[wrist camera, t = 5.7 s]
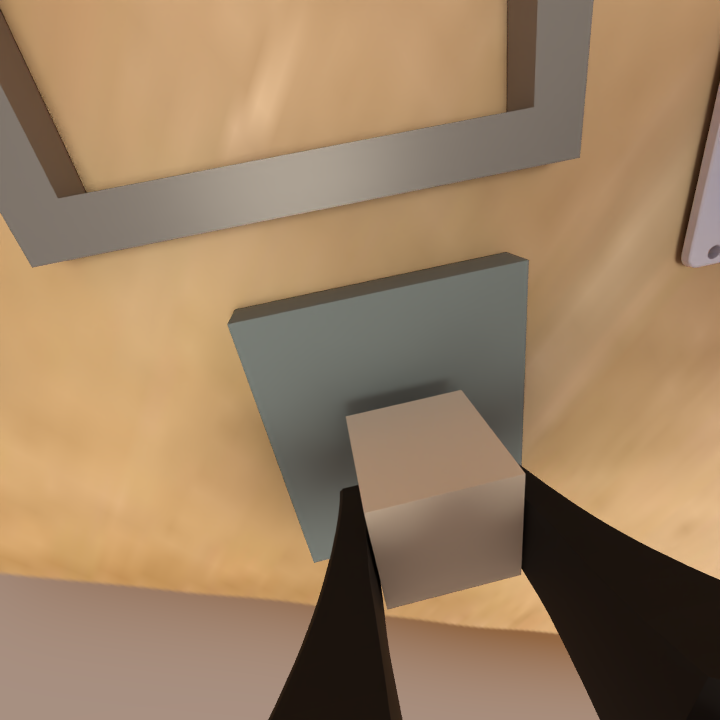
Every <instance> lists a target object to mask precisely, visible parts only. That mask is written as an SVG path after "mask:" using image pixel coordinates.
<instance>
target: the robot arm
mask: <svg viewBox="0 0 720 720" xmlns="http://www.w3.org/2000/svg"><path fill="white" fill-rule="evenodd" d="M709 250H710V251H709ZM708 252H709V253H708ZM681 261H682V263H683V264H684V265H685V266H689V267H702V266H707V265H711V264H716V263H720V83H719V88H718V92H717V97H716V101H715V106H714V110H713V115H712V119H711V124H710V128H709V133H708V137H707V142H706V146H705V151H704V156H703V160H702V165H701V169H700V174H699V178H698V183H697V187H696V192H695V196H694V201H693V205H692V210H691V214H690V219H689V223H688V228H687V232H686V237H685V241H684V246H683V250H682V255H681ZM518 465H519V466H520V467H521V469H522V470H523V471H524V472H525V496H524V519H523V542H522V565H521V568H522V570H523V572H524V573H525V575H526V576H527V578H528V580H529V581H530V583H531V585H532V586H533V588H534V589H535V591H536V593H537V594H538V596H539V598H540V599H541V601H542V603H543V605H544V606H545V608H546V610H547V612H548V614H549V615H550V617H551V619H552V621H553V623H554V625H555V627H556V629H557V631H558V633H559V635H560V637H561V639H562V641H563V643H564V645H565V647H566V649H567V651H568V653H569V655H570V658H571V660H572V662H573V664H574V666H575V668H576V670H577V672H578V674H579V676H580V678H581V680H582V682H583V684H584V686H585V689H586V690H587V693H588V695H589V697H590V699H591V701H592V703H593V706H594V708H595V710H596V712H597V714H598V716H599V719H600V720H720V580H719V579H717V578H714V577H712V576H710V575H707V574H705V573H703V572H700V571H698V570H696V569H694V568H692V567H689V566H687V565H685V564H683V563H681V562H679V561H677V560H675V559H673V558H671V557H668V556H666V555H664V554H662V553H660V552H658V551H656V550H654V549H652V548H650V547H648V546H646V545H644V544H642V543H640V542H638V541H636V540H635V539H633V538H631V537H629V536H627V535H626V534H624V533H622V532H620V531H618V530H617V529H615V528H613V527H611V526H609V525H608V524H606V523H604V522H603V521H601V520H599V519H598V518H596V517H595V516H593V515H591V514H590V513H588V512H587V511H585V510H583V509H582V508H580V507H579V506H577V505H576V504H574V503H573V502H571V501H570V500H568V499H567V498H565V497H564V496H562V495H561V494H559V493H558V492H557V491H555V490H554V489H552V488H551V487H549V486H548V485H547V484H545V483H544V482H542V481H541V480H540V479H538V478H537V477H536V476H534V475H533V474H532V473H530V472H529V471H527V470H526V469H525V468H523V467H522V466H521V465H520V464H518ZM268 720H402V715H401V710H400V705H399V700H398V695H397V690H396V684H395V679H394V674H393V669H392V664H391V659H390V653H389V646H388V639H387V632H386V624H385V614H384V606H383V597H382V589H381V581H380V577H379V573H378V569H377V565H376V560H375V556H374V552H373V548H372V544H371V540H370V536H369V532H368V528H367V524H366V519H365V515H364V511H363V505H362V500H361V495H360V490H359V485H356V486H351V487H347V488H343V489H342V490H341V491H340V503H339V513H338V520H337V526H336V532H335V537H334V542H333V547H332V551H331V556H330V560H329V563H328V567H327V571H326V575H325V579H324V582H323V586H322V589H321V592H320V595H319V599H318V602H317V605H316V608H315V611H314V614H313V616H312V619H311V623H310V625H309V628H308V630H307V633H306V635H305V638H304V641H303V644H302V646H301V649H300V651H299V653H298V656H297V658H296V660H295V663H294V665H293V667H292V670H291V672H290V674H289V677H288V678H287V681H286V683H285V685H284V688H283V690H282V692H281V694H280V696H279V698H278V701H277V703H276V705H275V707H274V709H273V711H272V713H271V715H270V717H269V719H268Z"/></svg>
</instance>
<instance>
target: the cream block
mask: <svg viewBox="0 0 720 720" xmlns="http://www.w3.org/2000/svg"><path fill="white" fill-rule="evenodd" d="M346 421H347V426H348V432H349V437H350V442H351V447H352V453H353V458H354V463H355V468H356V474H357V479H358V484H359V490H360V495H361V500H362V505H363V511H364V515H365V519H366V524H367V528H368V532H369V536H370V540H371V544H372V548H373V552H374V556H375V560H376V565H377V569H378V573H379V577H380V581H381V585H382V589H383V593H384V597H385V601H386V606H387V609H391V608H395V607H399V606H402V605H406V604H410V603H414V602H418V601H422V600H426V599H429V598H433V597H437V596H441V595H445V594H449V593H453V592H456V591H460V590H464V589H468V588H472V587H476V586H480V585H483V584H487V583H491V582H495V581H499V580H503V579H507V578H510V577H514V576H518V575H521V565H522V542H523V519H524V496H525V472H524V471H523V470H522V469H521V467H520V466H519V465H518V463H517V462H516V461H515V459H514V458H513V457H512V455H511V454H510V453H509V452H508V450H507V449H506V448H505V446H504V445H503V444H502V442H501V441H500V440H499V438H498V437H497V436H496V435H495V433H494V432H493V431H492V429H491V428H490V427H489V425H488V424H487V423H486V421H485V420H484V419H483V418H482V416H481V415H480V414H479V412H478V411H477V410H476V408H475V407H474V406H473V404H472V403H471V402H470V401H469V399H468V398H467V397H466V395H465V394H464V393H463V391H462V390H458V391H454V392H450V393H445V394H441V395H437V396H432V397H428V398H424V399H419V400H415V401H411V402H406V403H402V404H398V405H393V406H389V407H385V408H380V409H376V410H372V411H367V412H363V413H359V414H354V415H350V416H346Z"/></svg>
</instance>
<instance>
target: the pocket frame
mask: <svg viewBox="0 0 720 720" xmlns="http://www.w3.org/2000/svg"><path fill="white" fill-rule="evenodd" d="M593 1H594V0H508V64H507V112H506V113H501V114H496V115H490V116H485V117H480V118H475V119H469V120H464V121H459V122H454V123H449V124H443V125H438V126H433V127H428V128H423V129H417V130H412V131H407V132H402V133H397V134H391V135H386V136H381V137H376V138H371V139H365V140H360V141H355V142H350V143H345V144H339V145H334V146H329V147H324V148H319V149H313V150H308V151H303V152H298V153H292V154H287V155H282V156H277V157H272V158H266V159H261V160H256V161H251V162H246V163H240V164H235V165H230V166H225V167H220V168H214V169H209V170H204V171H199V172H194V173H188V174H183V175H178V176H173V177H168V178H162V179H157V180H152V181H147V182H141V183H136V184H131V185H126V186H121V187H115V188H110V189H105V190H100V191H95V192H89V193H86V192H85V190H84V187H83V185H82V183H81V181H80V179H79V177H78V175H77V172H76V170H75V168H74V166H73V164H72V162H71V160H70V158H69V155H68V153H67V151H66V149H65V147H64V145H63V143H62V141H61V138H60V136H59V134H58V132H57V130H56V128H55V126H54V124H53V121H52V119H51V117H50V115H49V113H48V111H47V109H46V107H45V104H44V102H43V100H42V98H41V96H40V94H39V92H38V89H37V87H36V85H35V83H34V81H33V79H32V77H31V75H30V72H29V70H28V68H27V66H26V64H25V62H24V60H23V58H22V55H21V53H20V51H19V49H18V47H17V45H16V43H15V41H14V38H13V36H12V34H11V32H10V30H9V28H8V26H7V24H6V21H5V19H4V17H3V15H2V13H1V11H0V213H1V215H2V216H3V218H4V220H5V221H6V223H7V225H8V227H9V228H10V230H11V232H12V234H13V235H14V237H15V239H16V240H17V242H18V244H19V246H20V247H21V249H22V251H23V253H24V254H25V256H26V258H27V259H28V261H29V263H30V265H31V266H32V267H37V266H42V265H47V264H52V263H57V262H62V261H67V260H72V259H77V258H82V257H87V256H92V255H97V254H102V253H107V252H112V251H117V250H122V249H127V248H132V247H137V246H142V245H147V244H152V243H157V242H162V241H167V240H172V239H177V238H182V237H187V236H192V235H197V234H202V233H207V232H212V231H217V230H222V229H227V228H231V227H236V226H241V225H246V224H251V223H256V222H261V221H266V220H271V219H276V218H281V217H286V216H291V215H296V214H301V213H306V212H311V211H316V210H321V209H326V208H331V207H336V206H341V205H346V204H351V203H356V202H361V201H366V200H371V199H376V198H381V197H386V196H391V195H396V194H401V193H406V192H411V191H416V190H421V189H426V188H431V187H436V186H441V185H446V184H451V183H456V182H461V181H466V180H471V179H476V178H481V177H486V176H491V175H496V174H501V173H506V172H511V171H516V170H521V169H526V168H531V167H535V166H540V165H545V164H550V163H555V162H560V161H565V160H570V159H575V158H580V150H581V138H582V127H583V115H584V104H585V92H586V81H587V69H588V58H589V47H590V35H591V24H592V12H593Z"/></svg>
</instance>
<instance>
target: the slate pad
mask: <svg viewBox="0 0 720 720" xmlns="http://www.w3.org/2000/svg"><path fill="white" fill-rule="evenodd" d="M528 265H529V260H527V259H524V258H521V257H519V256H516V255H513V254H510V253H507V252H505V253H500V254H495V255H491V256H486V257H481V258H476V259H472V260H467V261H462V262H458V263H453V264H448V265H443V266H439V267H434V268H429V269H425V270H420V271H415V272H410V273H406V274H401V275H396V276H392V277H387V278H382V279H377V280H373V281H368V282H363V283H359V284H354V285H349V286H344V287H340V288H335V289H330V290H326V291H321V292H316V293H311V294H307V295H302V296H297V297H293V298H288V299H283V300H278V301H274V302H269V303H264V304H260V305H255V306H250V307H245V308H241V309H236V310H235V311H234V313H233V315H232V316H231V318H230V320H229V322H228V324H227V325H228V327H229V330H230V333H231V336H232V338H233V341H234V344H235V347H236V349H237V352H238V355H239V358H240V360H241V363H242V366H243V369H244V371H245V374H246V377H247V380H248V382H249V385H250V388H251V391H252V393H253V396H254V399H255V402H256V404H257V407H258V410H259V413H260V415H261V418H262V421H263V424H264V426H265V429H266V432H267V435H268V437H269V440H270V443H271V446H272V448H273V451H274V454H275V457H276V459H277V462H278V465H279V468H280V470H281V473H282V476H283V479H284V481H285V484H286V487H287V490H288V492H289V495H290V498H291V501H292V503H293V506H294V509H295V512H296V514H297V517H298V520H299V523H300V525H301V528H302V531H303V534H304V536H305V539H306V542H307V545H308V547H309V550H310V553H311V556H312V558H313V561H314V563H315V562H319V561H323V560H327V559H330V556H331V551H332V547H333V542H334V537H335V532H336V526H337V520H338V513H339V503H340V491H341V490H342V489H343V488H347V487H351V486H356V485H359V484H358V479H357V474H356V468H355V463H354V458H353V453H352V447H351V442H350V437H349V432H348V426H347V421H346V416H350V415H354V414H359V413H363V412H367V411H372V410H376V409H380V408H385V407H389V406H393V405H398V404H402V403H406V402H411V401H415V400H419V399H424V398H428V397H432V396H437V395H441V394H445V393H450V392H454V391H458V390H462V391H463V393H464V394H465V395H466V397H467V398H468V399H469V401H470V402H471V403H472V404H473V406H474V407H475V408H476V410H477V411H478V412H479V414H480V415H481V416H482V418H483V419H484V420H485V421H486V423H487V424H488V425H489V427H490V428H491V429H492V431H493V432H494V433H495V435H496V436H497V437H498V438H499V440H500V441H501V442H502V444H503V445H504V446H505V448H506V449H507V450H508V452H509V453H510V454H511V455H512V457H513V458H514V459H515V461H516V462H517V463H518V464H520V465H521V464H522V436H523V407H524V379H525V350H526V322H527V293H528Z"/></svg>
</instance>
